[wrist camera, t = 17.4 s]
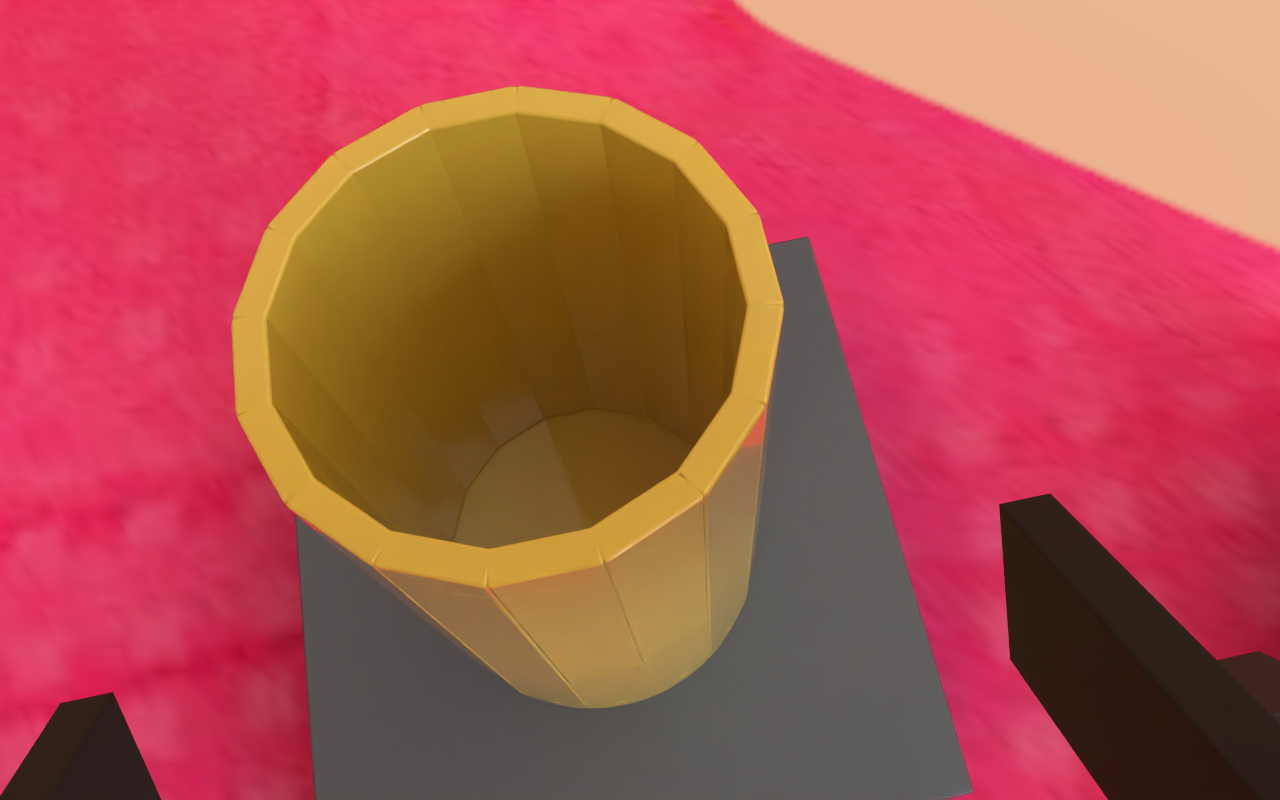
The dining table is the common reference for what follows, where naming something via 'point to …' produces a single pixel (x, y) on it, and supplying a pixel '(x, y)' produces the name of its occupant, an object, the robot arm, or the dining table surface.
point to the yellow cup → (524, 382)
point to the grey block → (709, 697)
